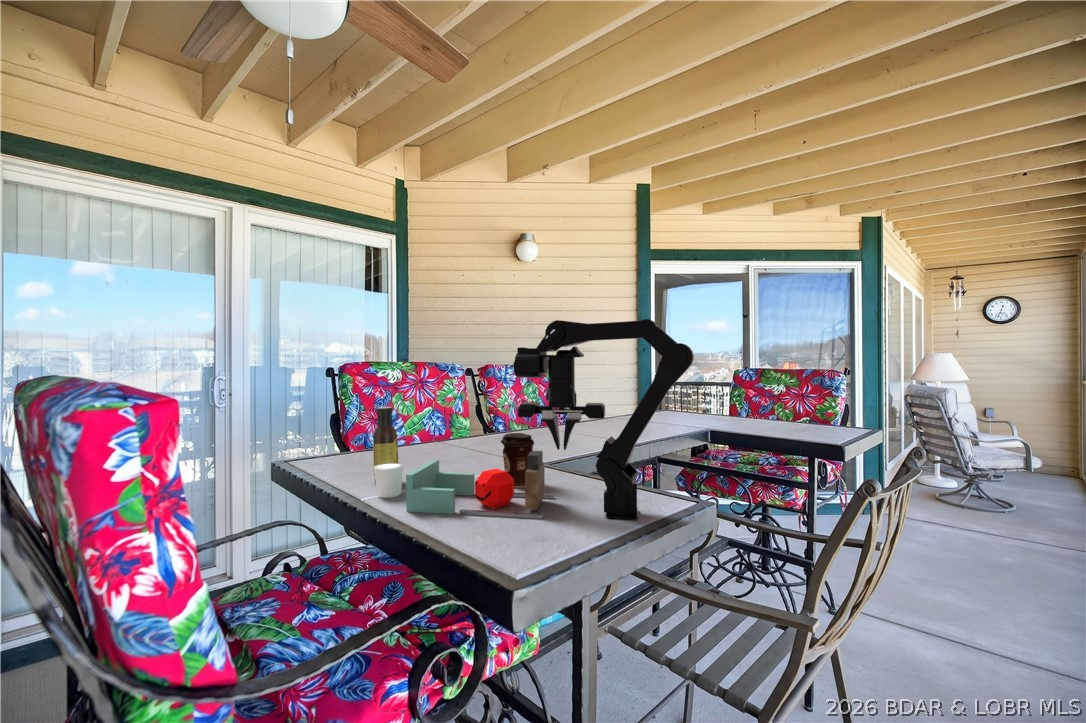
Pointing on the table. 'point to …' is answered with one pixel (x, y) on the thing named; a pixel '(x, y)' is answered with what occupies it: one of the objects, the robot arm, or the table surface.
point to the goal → (436, 489)
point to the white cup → (388, 479)
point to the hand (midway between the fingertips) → (561, 449)
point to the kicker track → (507, 514)
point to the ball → (494, 488)
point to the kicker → (534, 480)
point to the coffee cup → (517, 456)
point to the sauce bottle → (385, 438)
